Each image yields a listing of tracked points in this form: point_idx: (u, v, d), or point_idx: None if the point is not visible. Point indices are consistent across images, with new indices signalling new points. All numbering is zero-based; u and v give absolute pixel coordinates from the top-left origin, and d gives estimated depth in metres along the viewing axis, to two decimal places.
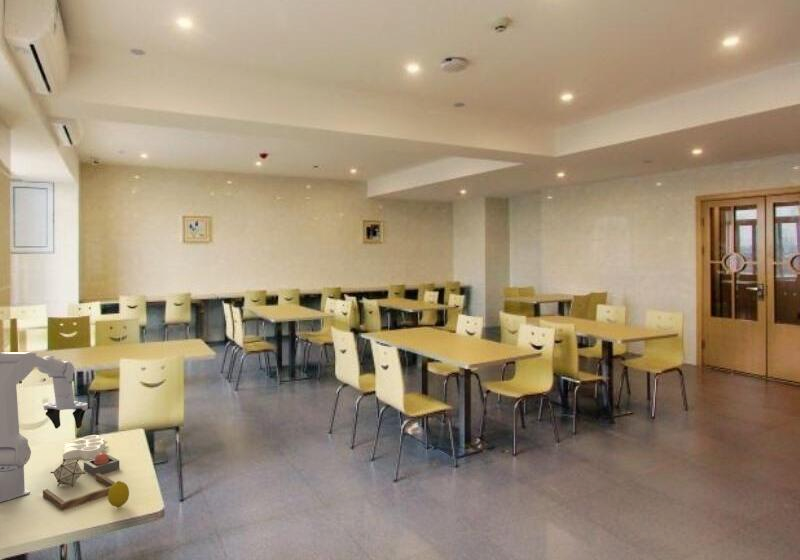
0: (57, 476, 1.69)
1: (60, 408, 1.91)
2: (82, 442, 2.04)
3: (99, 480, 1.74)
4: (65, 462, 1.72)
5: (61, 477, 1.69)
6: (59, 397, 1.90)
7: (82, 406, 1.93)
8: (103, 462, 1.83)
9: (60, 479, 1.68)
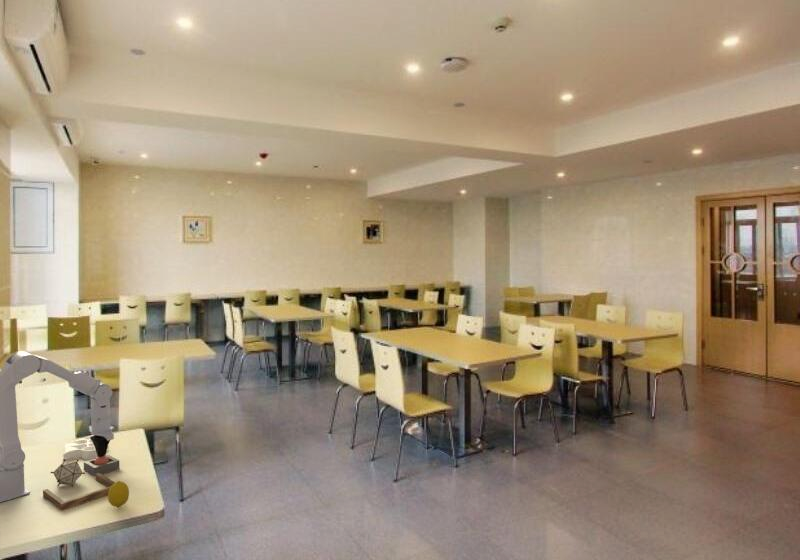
0: (57, 476, 1.69)
1: (91, 432, 1.81)
2: (83, 442, 2.04)
3: (99, 480, 1.74)
4: (65, 462, 1.72)
5: (61, 477, 1.69)
6: (91, 420, 1.81)
7: (106, 436, 1.79)
8: None
9: (60, 479, 1.68)
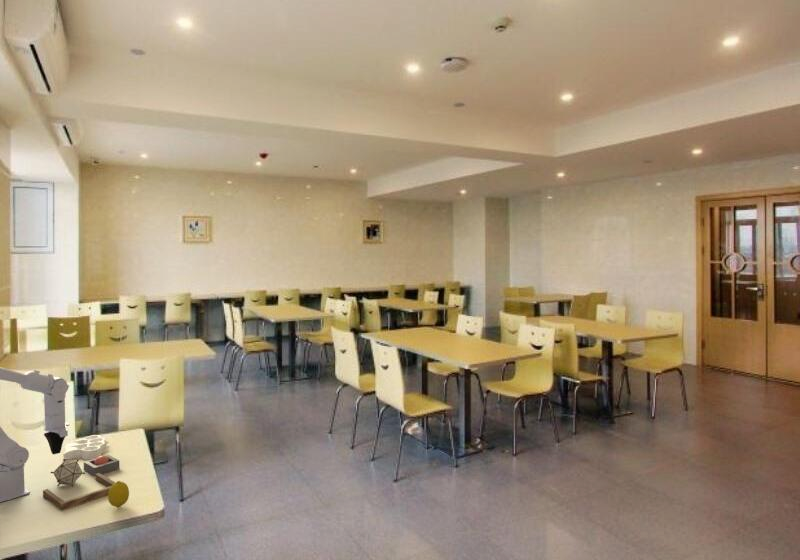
0: (57, 476, 1.69)
1: (45, 429, 1.75)
2: (84, 442, 2.04)
3: (99, 480, 1.74)
4: (65, 462, 1.72)
5: (62, 477, 1.69)
6: (45, 416, 1.75)
7: (59, 432, 1.72)
8: None
9: (60, 479, 1.68)
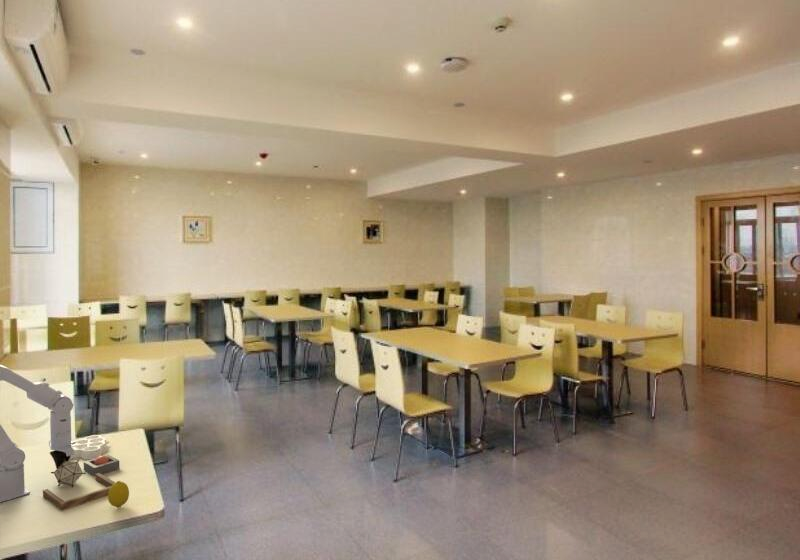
0: (57, 476, 1.69)
1: (50, 447, 1.72)
2: (84, 442, 2.04)
3: (99, 480, 1.74)
4: (65, 462, 1.72)
5: (62, 477, 1.68)
6: (51, 434, 1.72)
7: (66, 451, 1.70)
8: None
9: (60, 479, 1.68)
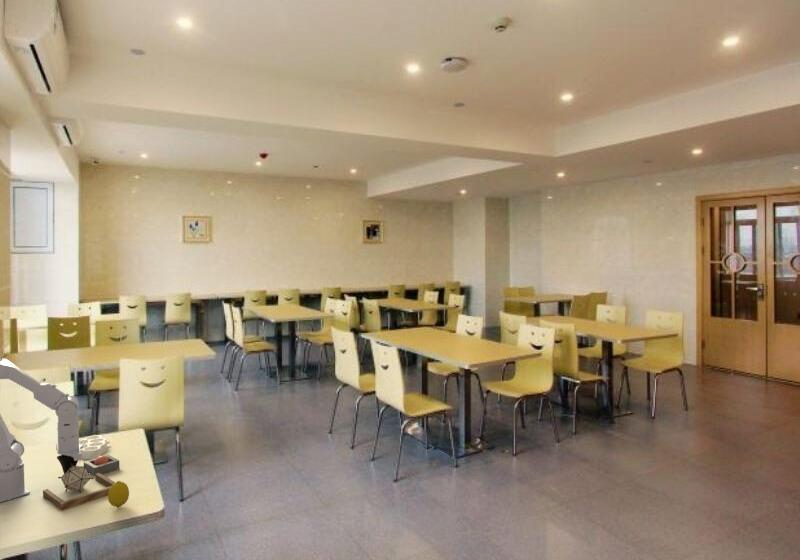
0: (65, 481, 1.65)
1: (58, 452, 1.69)
2: (85, 442, 2.05)
3: (99, 480, 1.74)
4: (73, 467, 1.68)
5: (69, 482, 1.65)
6: (58, 439, 1.69)
7: (73, 455, 1.66)
8: None
9: (68, 484, 1.65)
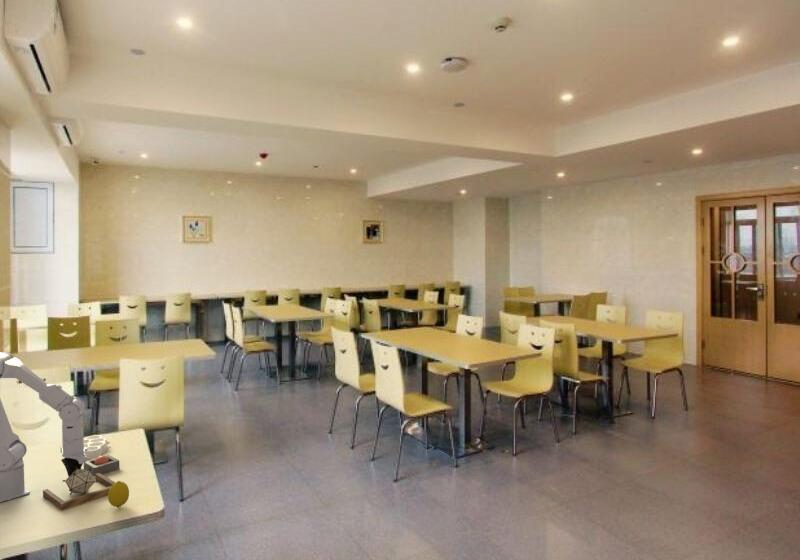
0: (69, 485, 1.63)
1: (62, 454, 1.67)
2: (85, 442, 2.05)
3: (99, 480, 1.74)
4: (77, 470, 1.66)
5: (74, 486, 1.62)
6: (62, 441, 1.66)
7: (78, 458, 1.64)
8: None
9: (72, 488, 1.62)
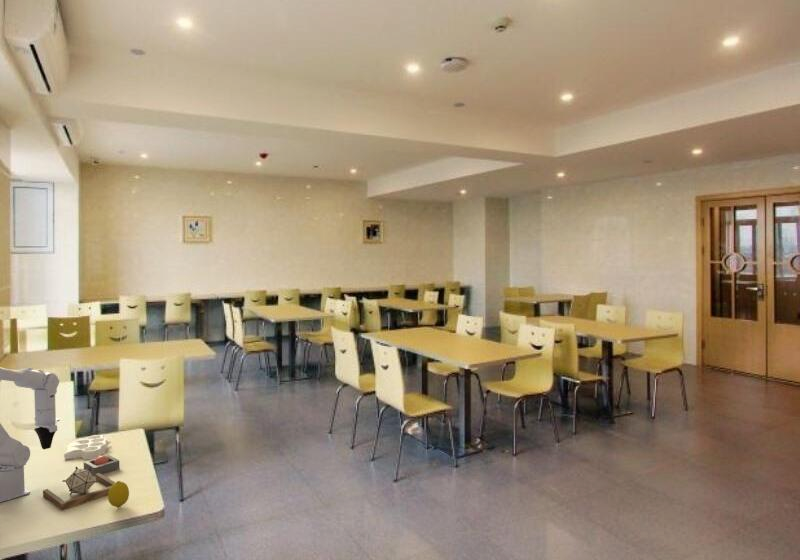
0: (69, 485, 1.63)
1: (35, 424, 1.76)
2: (86, 442, 2.05)
3: (99, 480, 1.74)
4: (77, 470, 1.66)
5: (74, 486, 1.62)
6: (35, 411, 1.75)
7: (49, 427, 1.73)
8: None
9: (72, 488, 1.62)
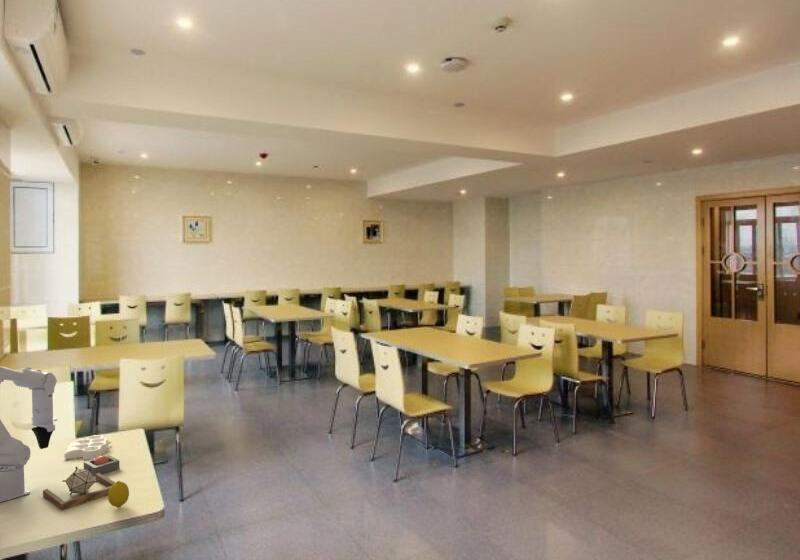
0: (69, 485, 1.63)
1: (32, 423, 1.76)
2: (86, 442, 2.05)
3: (99, 480, 1.74)
4: (77, 470, 1.66)
5: (74, 486, 1.62)
6: (32, 411, 1.76)
7: (47, 427, 1.73)
8: None
9: (72, 488, 1.62)
